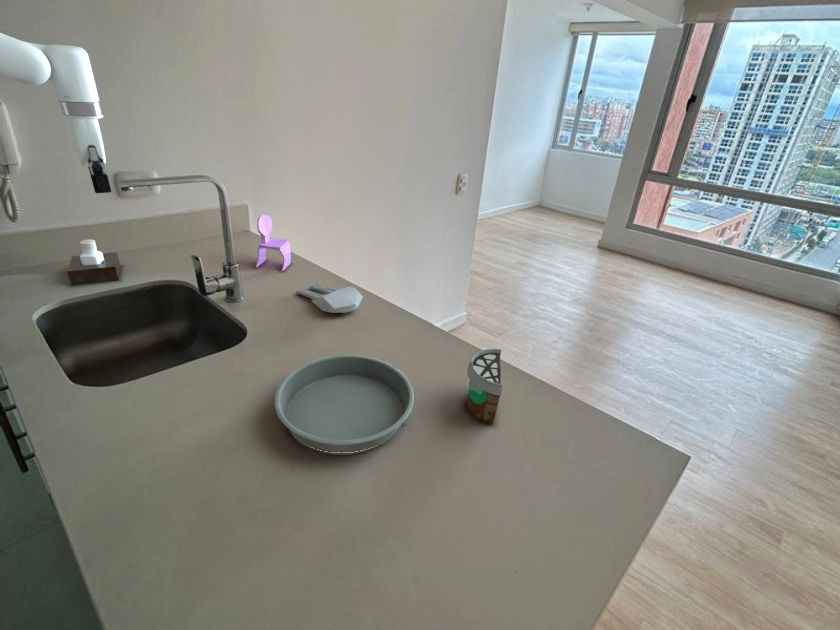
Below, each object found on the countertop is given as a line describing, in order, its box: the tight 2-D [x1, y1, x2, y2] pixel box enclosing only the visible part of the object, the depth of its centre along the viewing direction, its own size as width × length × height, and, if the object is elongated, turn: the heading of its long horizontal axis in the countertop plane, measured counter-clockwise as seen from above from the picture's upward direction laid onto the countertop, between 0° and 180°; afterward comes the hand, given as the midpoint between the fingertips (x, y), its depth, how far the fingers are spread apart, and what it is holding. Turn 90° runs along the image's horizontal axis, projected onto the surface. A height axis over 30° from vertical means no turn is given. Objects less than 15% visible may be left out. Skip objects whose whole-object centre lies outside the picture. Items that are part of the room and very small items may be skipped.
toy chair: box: [255, 214, 292, 272], centre depth 131 cm, size 8×9×15 cm
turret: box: [296, 283, 363, 314], centre depth 117 cm, size 10×20×5 cm, turn 50°
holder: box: [66, 251, 121, 286], centre depth 119 cm, size 10×10×4 cm
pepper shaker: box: [79, 239, 104, 266], centre depth 118 cm, size 4×4×10 cm
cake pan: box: [273, 354, 415, 456], centre depth 81 cm, size 25×25×4 cm
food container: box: [466, 348, 503, 425], centre depth 85 cm, size 12×6×10 cm, turn 172°
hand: (101, 187), depth 108 cm, fingers open, 9 cm apart
